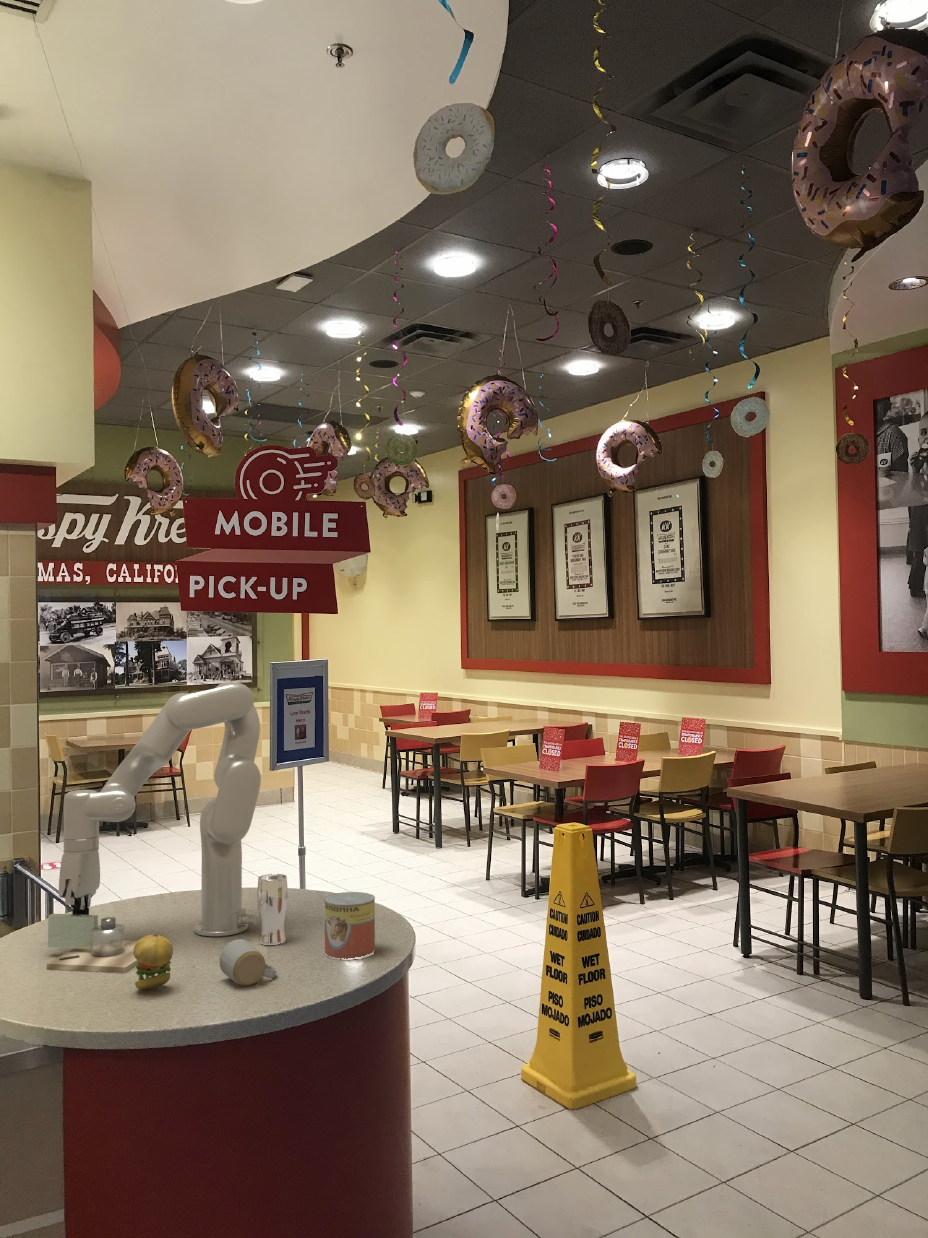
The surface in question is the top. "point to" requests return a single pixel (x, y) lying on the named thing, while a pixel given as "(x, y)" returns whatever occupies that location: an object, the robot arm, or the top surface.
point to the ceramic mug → (244, 963)
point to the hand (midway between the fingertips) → (80, 925)
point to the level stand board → (96, 960)
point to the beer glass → (272, 907)
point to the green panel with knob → (86, 933)
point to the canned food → (349, 924)
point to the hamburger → (153, 961)
